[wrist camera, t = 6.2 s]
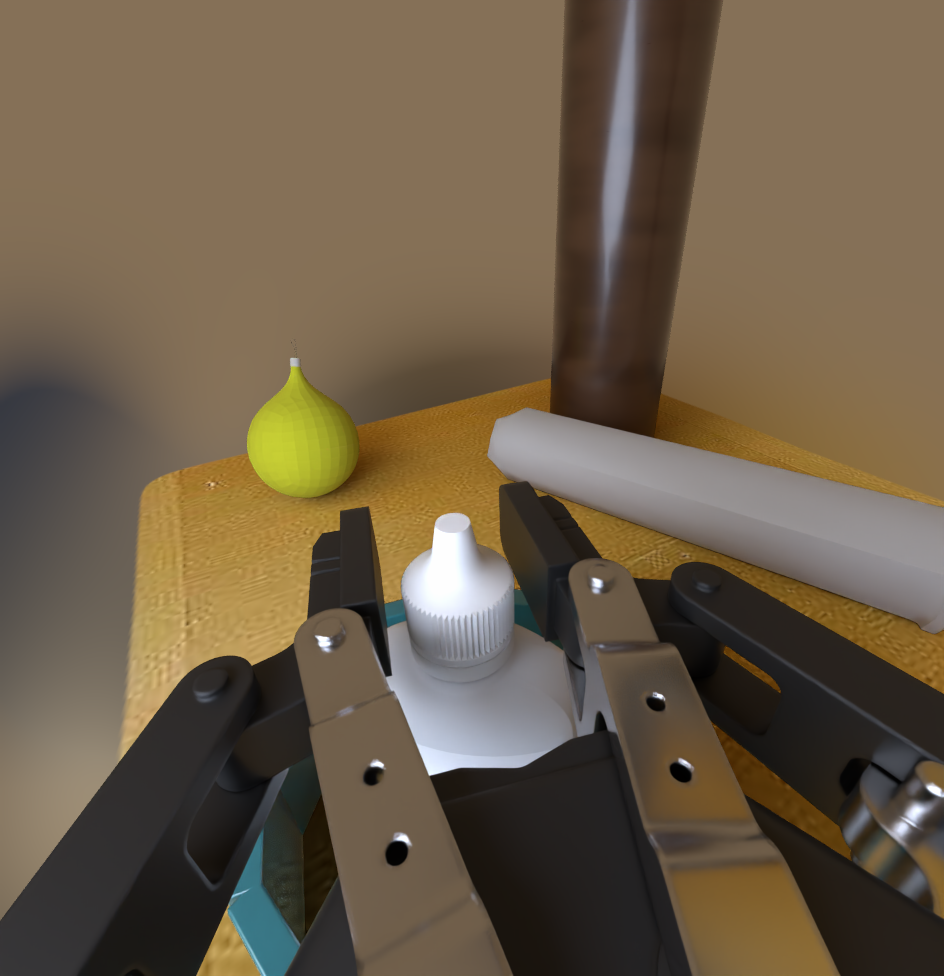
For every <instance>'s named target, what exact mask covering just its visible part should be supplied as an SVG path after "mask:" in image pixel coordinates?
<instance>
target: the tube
mask: <svg viewBox="0 0 944 976" xmlns="http://www.w3.org/2000/svg"><path fill="white" fill-rule="evenodd" d="M487 456H488V457H489V458H490V459H491V461H492V462H493V463H494V464H495V465H496V466H497V467H498V468H499V470H500V471H501V472H502V473H503V474H504V475H505V476H506V477H507V479H509V480H512V481H515V482H522V481H528V482H529V483H530V485H531V486H532V488H535V489H537V490H540V491H543V492H546V493H549V494H552V495H555V496H558V497H560V498H563V499H566V500H569V501H572V502H575V503H578V504H580V505H583V506H586V507H589V508H592V509H595V510H598V511H600V512H603V513H606V514H609V515H612V516H615V517H618V518H620V519H623V520H626V521H629V522H632V523H635V524H638V525H641V526H643V527H646V528H649V529H652V530H655V531H658V532H661V533H663V534H666V535H669V536H672V537H675V538H678V539H681V540H683V541H686V542H689V543H692V544H695V545H698V546H701V547H703V548H706V549H709V550H712V551H715V552H718V553H721V554H723V555H726V556H729V557H732V558H735V559H738V560H741V561H744V562H746V563H749V564H752V565H755V566H758V567H761V568H764V569H766V570H769V571H772V572H775V573H778V574H781V575H784V576H786V577H789V578H792V579H795V580H798V581H801V582H804V583H806V584H809V585H812V586H815V587H818V588H821V589H824V590H827V591H829V592H832V593H835V594H838V595H841V596H844V597H847V598H849V599H852V600H855V601H858V602H861V603H864V604H867V605H869V606H872V607H875V608H878V609H881V610H884V611H887V612H889V613H892V614H895V615H898V616H901V617H904V618H907V619H909V620H912V621H914V622H916V623H918V624H919V626H920V629H922V630H924V631H927V632H930V633H932V634H937V633H939V632H940V631H942V630H944V507H940V506H935V505H931V504H927V503H923V502H919V501H914V500H910V499H906V498H902V497H898V496H894V495H889V494H885V493H881V492H877V491H873V490H869V489H864V488H860V487H856V486H852V485H848V484H843V483H839V482H835V481H831V480H827V479H823V478H818V477H814V476H810V475H806V474H802V473H798V472H793V471H789V470H785V469H781V468H777V467H772V466H768V465H764V464H760V463H756V462H752V461H747V460H743V459H739V458H735V457H731V456H727V455H722V454H718V453H714V452H710V451H706V450H701V449H697V448H693V447H689V446H685V445H681V444H676V443H672V442H668V441H664V440H660V439H656V438H651V437H647V436H643V435H639V434H635V433H630V432H626V431H622V430H618V429H614V428H610V427H605V426H601V425H597V424H593V423H589V422H585V421H580V420H576V419H572V418H568V417H564V416H560V415H555V414H551V413H547V412H543V411H539V410H534V409H530V408H524V409H522V410H520V411H518V412H516V413H514V414H512V415H509V416H506V417H503V418H500V419H497V420H496V422H495V426H494V429H493V432H492V436H491V439H490V445H489V450H488V455H487Z"/></svg>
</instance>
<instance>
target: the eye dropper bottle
mask: <svg viewBox="0 0 944 976" xmlns="http://www.w3.org/2000/svg"><path fill="white" fill-rule="evenodd" d="M405 570H406V571H405V572H404V573H403V574H404V575H403V576H402V581H401V592H402V598H403V604H404V610H405V616H406V621H403V622H400V623H398V624H395V625H392V626H390V627H388V628H387V632H388V641H389V651H390V660H391V669H392V676H389V677H386V680H387V682H388V685H389V687H390V689H391V691H393V690H394V692H395V693H396V695H397V697H398V700H399V702H400V704H401V707H402V709H403V712H404V714H405V717H406V719H407V722H408V724H409V727H410V729H411V732H412V734H413V737H414V739H415V742H416V744H417V747H418V749H419V752H420V754H421V757H422V759H423V762H424V764H425V767H426V769H427V772H428V774H429V776H430V775H434V774H438V773H442V772H446V771H449V770H453V769H457V768H520V767H523V766H525V765H527V764H529V763H531V762H532V761H534V760H536V759H538V758H539V757H541V756H543V755H544V754H546V753H548V752H549V751H551V750H553V749H554V748H556V747H558V746H560V745H561V744H563V743H565V742H566V741H568V740H570V739H573V738H576V737H577V731H576V726H575V721H574V716H573V711H572V705H571V700H570V695H569V690H568V685H567V680H566V675H565V670H564V665H563V650H561V649H560V648H559V647H557V646H556V645H554V644H553V643H551V642H550V641H548V642H545V640H544V638H543V637H541V636H539V635H538V634H536V633H534V632H532V631H530V630H528V629H526V628H524V627H522V626H519V625H517V624H515V623H514V575H513V571H512V568H511V567H510V564H509V563H508V562H507V560H506V559H504V557H503V556H501V555H500V554H499V553H497V552H496V551H494V550H492V549H490V548H488V547H486V546H483V545H479V544H477V543H476V539H475V536H474V533H473V529H472V526H471V523H470V520H469V518H468V517H467V516H465V515H463V514H460V513H449V514H445V515H443V516H441V517H439V518H438V519H437V520H436V523H435V530H434V538H433V547H432V548H431V549H429V550H427V551H425V552H423V553H422V554H420V555H419V556H418V557H416V558H415V559H414V560H413V561H412V562H411V563H410V564H409V565H408V567H407V568H406V569H405Z"/></svg>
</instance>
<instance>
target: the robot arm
mask: <svg viewBox="0 0 944 976" xmlns="http://www.w3.org/2000/svg"><path fill="white" fill-rule="evenodd" d="M499 508H500V536H501V542H502V546H503V550H504V553H505V555H506V557H507V560H508V562H509V564H510V566H511V568H512V570H513V573H514V575H515V577H516V579H517V581H518V583H519V586H520V588H521V590H522V592H523V594H524V596H525V599H526V601H527V603H528V605H529V607H530V610H531V612H532V614H533V616H534V618H535V620H536V623H537V625H538V627H539V629H540V631H541V633H542V636H543V638H544V640H545V642H548V641H553V640H557V639H560V642H561V644H562V646H563V648H564V649H563V665H564V670H565V675H566V680H567V685H568V690H569V695H570V700H571V705H572V711H573V716H574V721H575V726H576V731H577V737H576V738H573V739H570V740H568V741H566V742H565V743H563V744H561V745H560V746H558V747H556V748H554V749H553V750H551V751H549V752H548V753H546V754H544V755H543V756H541V757H539V758H538V759H536V760H534V761H532V762H531V763H529V764H527V765H525V766H523V767H520V768H457V769H453V770H449V771H446V772H442V773H438V774H434V775H430V776H429V774H428V772H427V769H426V767H425V764H424V762H423V759H422V757H421V754H420V752H419V749H418V747H417V744H416V742H415V739H414V737H413V734H412V732H411V729H410V727H409V724H408V722H407V719H406V717H405V714H404V712H403V709H402V707H401V704H400V702H399V700H398V697H397V695H396V693H395V692H394V690H393V691H391V689H390V687H389V685H388V682H387V680H386V677H389V676H392V669H391V660H390V651H389V641H388V632H387V623H386V614H385V604H384V595H383V586H382V577H381V569H380V563H379V557H378V551H377V546H376V541H375V535H374V530H373V525H372V520H371V514H370V510H369V506H368V507H362V508H355V509H349V510H343V511H340V531H334V532H328V533H322V535H321V536H320V538H319V539H318V540H317V542H316V543H315V545H314V546H313V552H312V565H311V577H310V590H309V603H308V616H307V620H306V621H305V622H304V623H303V624H302V625H301V627H300V628H299V629H298V631H297V633H296V635H295V638H294V643H293V644H292V645H290V646H289V647H288V648H287V649H285V650H283V651H282V652H280V653H278V654H276V655H274V656H272V657H270V658H268V659H266V660H264V661H261V662H259V663H257V664H255V665H253V666H251V664H250V663H249V662H248V661H247V660H246V659H244V658H241V657H238V656H222V657H218V658H214V659H211V660H209V661H206V662H204V663H202V664H201V665H199V666H197V667H196V668H194V669H193V670H192V671H190V672H189V673H188V674H187V675H186V676H185V677H184V678H183V679H182V680H181V681H180V682H179V683H178V685H177V686H176V687H175V689H174V690H173V691H172V693H171V694H170V695H169V697H168V698H167V699H166V701H165V702H164V703H163V705H162V706H161V707H160V709H159V710H158V711H157V713H156V714H155V715H154V717H153V718H152V719H151V721H150V722H149V723H148V725H147V726H146V727H145V729H144V730H143V731H142V733H141V734H140V735H139V737H138V738H137V739H136V741H135V742H134V743H133V745H132V746H131V747H130V749H129V750H128V751H127V753H126V754H125V755H124V757H123V758H122V759H121V761H120V762H119V763H118V765H117V766H116V767H115V769H114V770H113V771H112V773H111V774H110V776H109V777H108V778H107V779H106V781H105V782H104V783H103V785H102V786H101V787H100V789H99V790H98V791H97V793H96V794H95V795H94V797H93V798H92V799H91V801H90V802H89V803H88V805H87V806H86V807H85V809H84V810H83V811H82V813H81V814H80V815H79V817H78V818H77V819H76V821H75V822H74V823H73V825H72V826H71V827H70V829H69V830H68V831H67V833H66V834H65V835H64V837H63V838H62V840H61V841H60V842H59V843H58V845H57V846H56V847H55V849H54V850H53V851H52V853H51V854H50V855H49V857H48V858H47V859H46V861H45V862H44V863H43V865H42V866H41V867H40V869H39V870H38V871H37V873H36V874H35V875H34V877H33V878H32V879H31V881H30V882H29V883H28V885H27V886H26V887H25V889H24V890H23V891H22V893H21V894H20V895H19V897H18V898H17V899H16V901H15V902H14V903H13V905H12V906H11V907H10V909H9V910H8V911H7V913H6V914H5V915H4V917H3V918H2V919H1V921H0V976H196V975H197V973H198V970H199V968H200V966H201V964H202V962H203V959H204V957H205V955H206V953H207V950H208V948H209V946H210V944H211V942H212V939H213V937H214V935H215V933H216V930H217V928H218V926H219V924H220V922H221V919H222V917H223V915H224V913H225V911H226V908H227V906H228V904H229V902H230V899H231V897H232V895H233V893H234V891H235V888H236V886H237V884H238V882H239V879H240V877H241V875H242V873H243V871H244V868H245V866H246V864H247V862H248V859H249V857H250V855H251V853H252V851H253V848H254V846H255V844H256V842H257V840H258V837H259V835H260V833H261V831H262V828H263V826H264V824H265V822H266V820H267V817H268V815H269V813H270V811H271V808H272V806H273V804H274V802H275V800H276V797H277V795H278V793H279V791H280V789H281V786H282V784H283V782H284V780H285V777H286V775H287V773H288V770H289V767H291V766H293V765H294V764H296V763H298V762H300V761H301V760H303V759H305V758H307V757H308V756H310V755H312V754H314V759H315V763H316V768H317V773H318V778H319V783H320V788H321V792H322V797H323V802H324V807H325V812H326V816H327V821H328V826H329V831H330V836H331V841H332V845H333V850H334V855H335V860H336V865H337V869H338V874H339V875H338V877H337V879H336V881H335V882H334V884H333V886H332V888H331V890H330V892H329V893H328V895H327V897H326V899H325V901H324V903H323V905H322V906H321V908H320V910H319V912H318V914H317V916H316V917H315V919H314V921H313V923H312V925H311V927H310V929H309V930H308V932H307V934H306V936H305V938H304V940H303V942H302V943H301V945H300V947H299V949H298V951H297V953H296V954H295V956H294V958H293V960H292V962H291V964H290V966H289V967H288V969H287V971H286V973H285V975H284V976H944V694H943V693H941V692H939V691H937V690H936V689H934V688H932V687H930V686H929V685H927V684H925V683H923V682H922V681H920V680H918V679H916V678H914V677H913V676H911V675H909V674H907V673H906V672H904V671H902V670H900V669H899V668H897V667H895V666H893V665H892V664H890V663H888V662H886V661H885V660H883V659H881V658H879V657H877V656H876V655H874V654H872V653H870V652H869V651H867V650H865V649H863V648H862V647H860V646H858V645H856V644H855V643H853V642H851V641H849V640H848V639H846V638H844V637H842V636H840V635H839V634H837V633H835V632H833V631H832V630H830V629H828V628H826V627H825V626H823V625H821V624H819V623H818V622H816V621H814V620H812V619H811V618H809V617H807V616H805V615H803V614H802V613H800V612H798V611H796V610H795V609H793V608H791V607H789V606H788V605H786V604H784V603H782V602H781V601H779V600H777V599H775V598H774V597H772V596H770V595H768V594H766V593H765V592H763V591H761V590H759V589H758V588H756V587H754V586H752V585H751V584H749V583H747V582H745V581H744V580H742V579H740V578H738V577H737V576H735V575H733V574H731V573H729V572H728V571H726V570H724V569H722V568H720V567H718V566H715V565H712V564H708V563H703V562H689V563H684V564H681V565H679V566H678V567H676V568H675V569H674V571H673V572H672V576H671V580H653V579H638V578H633V577H632V576H631V574H630V572H629V571H628V570H627V569H626V568H625V567H623V566H622V565H620V564H618V563H616V562H614V561H611V560H607V559H603V558H602V557H601V556H600V554H599V553H598V551H597V550H596V549H595V547H594V546H593V545H592V543H591V542H590V540H589V539H588V538H587V536H586V535H585V534H584V532H583V531H582V529H581V528H580V527H578V524H577V522H576V521H575V520H574V518H572V517H571V514H570V513H569V511H568V510H567V509H566V507H565V506H564V505H563V504H562V503H561V502H559V501H557V500H556V499H554V498H552V497H551V496H549V495H547V496H542V497H538V496H537V494H536V492H535V491H534V489H533V488H532V486H531V485H530V483H529V482H528V481H522V482H516V483H510V484H504V485H501V486H500V488H499ZM725 645H726V646H728V647H729V648H730V649H732V650H733V651H735V652H736V653H738V654H739V655H741V656H742V657H744V658H745V659H746V660H748V661H749V662H751V663H752V664H754V665H755V666H757V667H758V668H760V669H761V670H762V671H764V672H765V673H767V674H768V675H769V676H771V677H772V678H773V679H774V680H775V682H776V683H777V684H778V686H779V688H780V690H781V693H779V692H778V691H776V690H775V689H773V688H772V687H771V686H769V685H768V684H766V683H765V682H763V681H762V680H761V679H759V678H758V677H756V676H755V675H753V674H752V673H751V672H749V671H748V670H746V669H745V668H743V667H742V666H741V665H739V664H738V663H736V662H735V661H733V660H732V659H731V658H729V657H728V656H726V655H725V654H724V653H723V651H724V648H725ZM710 721H712V722H713V723H714V724H715V725H717V726H718V727H719V728H720V729H721V730H723V731H724V732H725V733H726V734H727V735H729V736H730V737H731V738H732V739H733V740H735V741H736V742H737V743H738V744H740V745H741V746H742V747H743V748H744V749H746V750H747V751H748V752H749V753H750V754H752V755H753V756H754V757H755V758H757V759H758V760H759V761H760V762H761V763H763V764H764V765H765V766H766V767H767V768H769V769H770V770H771V771H772V772H774V773H775V774H776V775H777V776H778V777H780V778H781V779H782V780H783V781H784V782H786V783H787V784H788V785H789V786H791V787H792V788H793V789H794V790H795V791H797V792H798V793H799V794H800V795H801V796H803V797H804V798H805V799H806V800H807V801H809V802H810V803H811V804H812V805H814V806H815V807H816V808H817V809H818V810H820V811H821V812H822V813H823V814H824V815H826V816H827V817H828V818H829V819H831V820H832V821H833V822H834V823H835V824H837V825H838V826H839V827H840V830H841V833H842V836H843V838H844V840H845V842H846V844H847V845H848V847H849V848H850V850H851V851H850V856H851V860H852V861H850V860H849V859H847V858H846V857H844V856H842V855H841V854H839V853H838V852H836V851H834V850H833V849H831V848H830V847H828V846H826V845H825V844H823V843H822V842H820V841H818V840H817V839H815V838H814V837H812V836H810V835H809V834H807V833H806V832H804V831H803V830H801V829H799V828H798V827H796V826H795V825H793V824H791V823H790V822H788V821H787V820H785V819H783V818H782V817H780V816H779V815H777V814H775V813H774V812H772V811H771V810H769V809H767V808H766V807H764V806H763V805H761V804H759V803H758V802H756V801H755V800H753V799H751V798H750V797H748V796H747V795H745V794H743V792H742V790H741V788H740V785H739V783H738V781H737V779H736V777H735V774H734V772H733V770H732V768H731V766H730V763H729V761H728V759H727V757H726V755H725V752H724V750H723V748H722V746H721V744H720V741H719V739H718V737H717V735H716V733H715V730H714V728H713V726H712V724H711V722H710Z"/></svg>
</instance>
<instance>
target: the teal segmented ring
mask: <svg viewBox="0 0 944 976" xmlns="http://www.w3.org/2000/svg"><path fill="white" fill-rule="evenodd" d="M385 614H386V623H387V628H388V627H390V626H392V625H395V624H398V623H400V622H403V621H406V616H405V610H404V604H403V599H401V600H397V601H394V602H390V603H386V604H385ZM514 623H515V624H517V625H519V626H522V627H524V628H526V629H528V630H530V631H532V632H534V633H536V634H538V635H539V636H541V637H543V636H542V633H541V631H540V629H539V627H538V625H537V623H536V620H535V618H534V616H533V614H532V612H531V610H530V607H529V605H528V603H527V601H526V599H525V596H524V594H523V592H522V590H518V589H514ZM550 642H551V643H553V644H554V645H556V646H557V647H559V648H560V649H561V650H563V649H564V648H563V646H562V644H561V642H560V639H557V640H553V641H550ZM321 794H322V792H321V788H320V783H319V778H318V773H317V768H316V763H315V759H314V754H312V755H310V756H308V757H307V758H305V759H303V760H301V761H300V762H298V763H296V764H294V765H293V766H291V767H289V770H288V773H287V775H286V777H285V780H284V782H283V784H282V786H281V789H280V791H279V793H278V795H277V797H276V800H275V802H274V804H273V806H272V808H271V811H270V813H269V815H268V817H267V820H266V822H265V824H264V826H263V828H262V831H261V833H260V835H259V837H258V840H257V842H256V844H255V846H254V848H253V851H252V853H251V855H250V857H249V859H248V862H247V864H246V866H245V868H244V871H243V873H242V875H241V877H240V879H239V882H238V884H237V886H236V888H235V891H234V893H233V895H232V897H231V899H230V902H229V904H228V905H229V908H228V916H229V917H230V919H231V921H232V923H233V925H234V927H235V928H236V930H237V932H238V934H239V936H240V938H241V940H242V941H243V943H244V945H245V947H246V949H247V951H248V953H249V954H250V956H251V958H252V960H253V962H254V964H255V966H256V967H257V969H258V971H259V973H260V975H261V976H284V975H285V973H286V971H287V969H288V967H289V966H290V964H291V962H292V960H293V958H294V956H295V954H296V953H297V951H298V949H299V947H300V945H301V943H302V942H303V940H304V938H305V904H304V863H303V834H304V832H305V830H306V827H307V825H308V823H309V821H310V818H311V816H312V814H313V812H314V809H315V807H316V805H317V803H318V800H319V798H320V796H321Z"/></svg>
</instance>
